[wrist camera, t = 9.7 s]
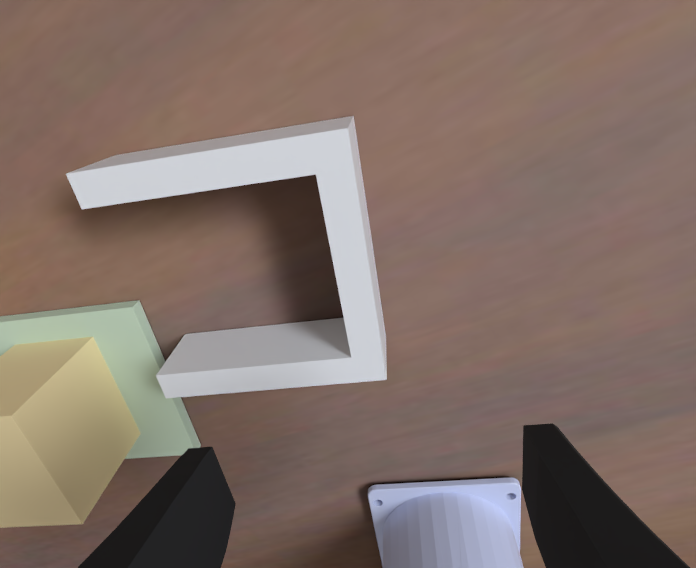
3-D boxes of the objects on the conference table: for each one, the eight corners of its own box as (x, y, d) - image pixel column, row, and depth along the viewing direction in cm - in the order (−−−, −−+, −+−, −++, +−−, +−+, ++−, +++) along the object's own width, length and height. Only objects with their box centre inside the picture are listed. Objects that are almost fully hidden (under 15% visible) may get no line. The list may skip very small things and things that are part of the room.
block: (140, 433, 23) (83, 524, 18) (70, 438, 23) (-3, 527, 19) (93, 336, 20) (11, 415, 16) (15, 344, 21) (-85, 423, 16)
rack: (385, 336, 20) (386, 379, 17) (193, 355, 21) (165, 398, 18) (353, 115, 16) (347, 127, 13) (115, 155, 17) (66, 173, 14)
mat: (201, 445, 24) (197, 454, 23) (50, 455, 25) (43, 464, 24) (139, 300, 20) (132, 306, 19) (-36, 320, 21) (-47, 327, 20)
